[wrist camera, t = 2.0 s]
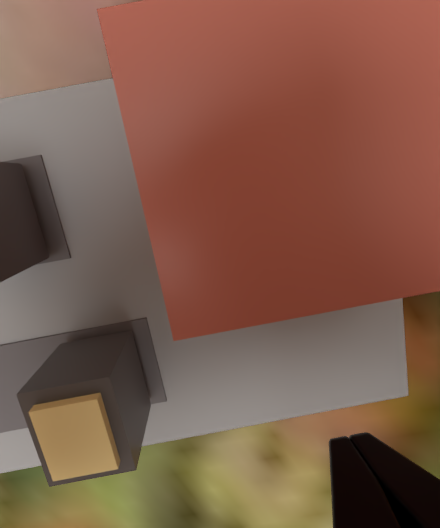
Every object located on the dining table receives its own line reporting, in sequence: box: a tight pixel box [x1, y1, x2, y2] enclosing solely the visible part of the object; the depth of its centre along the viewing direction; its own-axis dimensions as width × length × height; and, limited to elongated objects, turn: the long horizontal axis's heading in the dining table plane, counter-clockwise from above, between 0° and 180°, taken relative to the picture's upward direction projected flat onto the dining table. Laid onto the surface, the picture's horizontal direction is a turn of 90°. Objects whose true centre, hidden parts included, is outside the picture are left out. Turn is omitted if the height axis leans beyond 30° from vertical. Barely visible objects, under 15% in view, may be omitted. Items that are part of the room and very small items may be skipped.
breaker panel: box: [0, 78, 409, 473], centre depth 13 cm, size 22×13×2 cm, turn 100°
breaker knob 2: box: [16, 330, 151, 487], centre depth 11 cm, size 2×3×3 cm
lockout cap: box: [97, 0, 440, 341], centre depth 9 cm, size 6×6×5 cm
